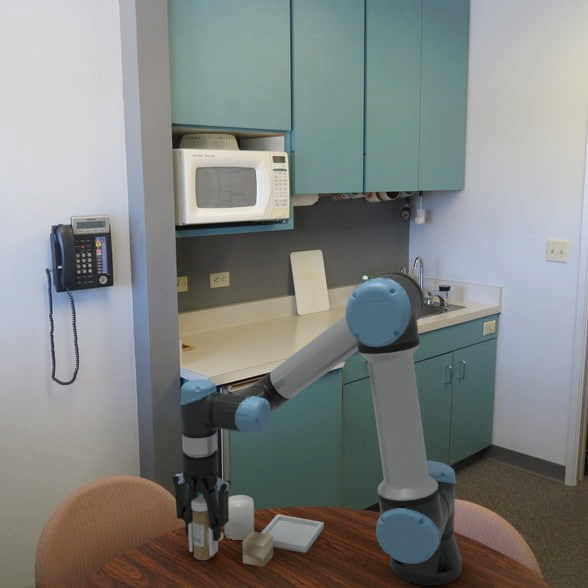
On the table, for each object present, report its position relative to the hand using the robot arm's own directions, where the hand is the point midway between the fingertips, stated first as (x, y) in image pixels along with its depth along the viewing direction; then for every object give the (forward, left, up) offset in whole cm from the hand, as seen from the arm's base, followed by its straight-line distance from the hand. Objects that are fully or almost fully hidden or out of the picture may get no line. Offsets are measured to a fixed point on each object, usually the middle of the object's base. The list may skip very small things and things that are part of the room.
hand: (203, 550), depth 154 cm
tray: (-15, -15, -1) cm, 21 cm away
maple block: (-12, -3, -1) cm, 12 cm away
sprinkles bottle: (0, 0, -1) cm, 1 cm away
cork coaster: (+2, -8, -2) cm, 8 cm away
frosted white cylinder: (-3, -12, -1) cm, 12 cm away
